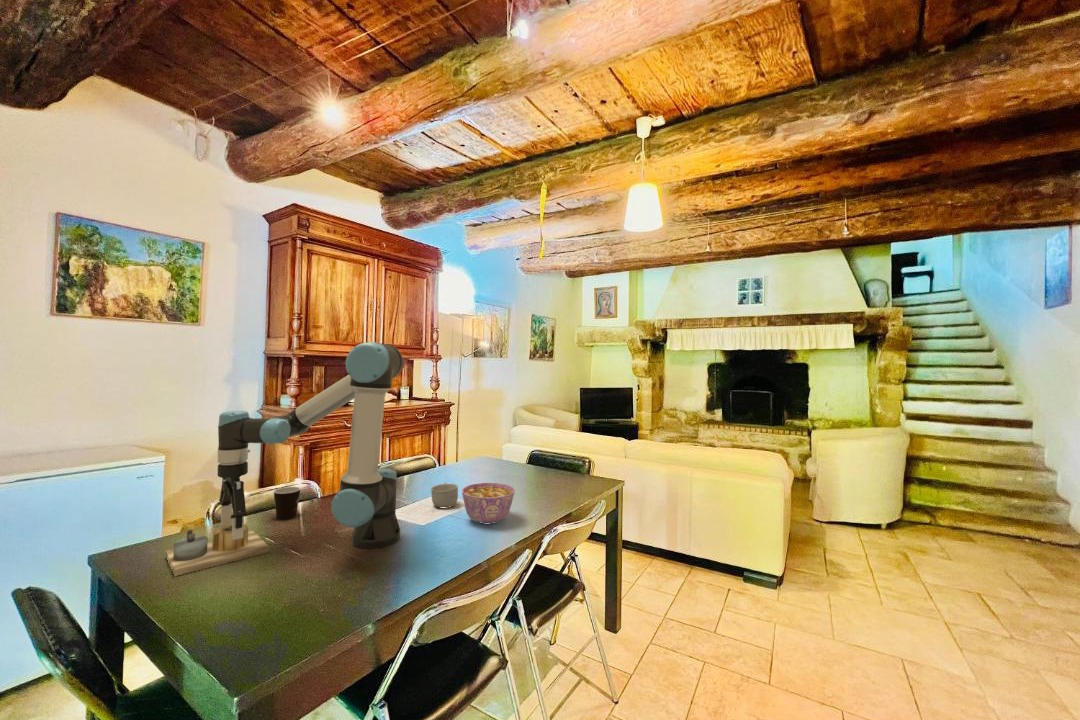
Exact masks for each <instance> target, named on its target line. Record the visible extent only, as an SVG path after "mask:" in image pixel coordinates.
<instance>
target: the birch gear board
mask: <svg viewBox="0 0 1080 720" xmlns="http://www.w3.org/2000/svg"><path fill="white" fill-rule="evenodd" d="M228 531H232V526H230V527H228ZM195 534H196V533H193V529H187V531H186V537H184V538H181V539H178V540H176V541H175V542H174V543H173V549H169V550H166V551H165V559H166V558H167V560H168V562H167V564H168V563H169V564H168V566H169V565H170V566H169V568H170V567H171V568H170V570H171V569H172V570H171V572H172V571H173V573H172V574H174V575H173V577H174V576H177V575H181V574H184V573H188V574H190V573H189V572H192V573H194V572H193V571H196V572H199V571H198V570H200V571H203V570H206V569H205V568H207V569H210V568H209V567H211V568H214V567H213V566H215V567H218V566H222V565H226V564H228V562H230V563H233V562H232V561H234V562H237V561H241V560H245V559H248V557H249V558H252V557H256V556H259V555H260V556H261V555H263V554H267V553H269V544H267V543H266V542H265V541H264V540H263V539H262V537H260V536H259V535H258V533H256V532H255V531H254V530H252V531H248V543H247V545H245V546H241V548H239V549H232V551H227V550H224V551H223V552H218V551H219V550H217V551H214V550H213V549H212V541H213V539H212V540H208V539H209V538H208V536H206V535H195ZM244 558H245V559H244ZM167 560H166V561H167ZM236 560H237V561H236ZM225 563H226V564H225ZM221 564H222V565H221ZM202 569H203V570H202ZM184 575H185V574H184ZM181 576H182V575H181ZM177 577H178V576H177Z"/></svg>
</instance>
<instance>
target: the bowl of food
mask: <svg viewBox="0 0 1080 720" xmlns="http://www.w3.org/2000/svg"><path fill="white" fill-rule="evenodd" d="M515 491H516V489H515V488H514V487H513V486H511V485H508V484H505V483H500V482H499V483H498V482H479V483H473V484H469V485H466V486H465V487H463V488H462V489H461V493H462V499H463V503H464V504H463V505H464V509H465V512H466V514H467V516H468V518H470V519H472V520H473V521H475V522H477V523H478V522H482V523H493V522H497V521H498V522H500V521H502V520H503V519H505V518H506V517H507V516H508V515H509V513H510V511H511V506H512V502H513V499H514V495H515ZM498 522H497V523H498Z"/></svg>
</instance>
